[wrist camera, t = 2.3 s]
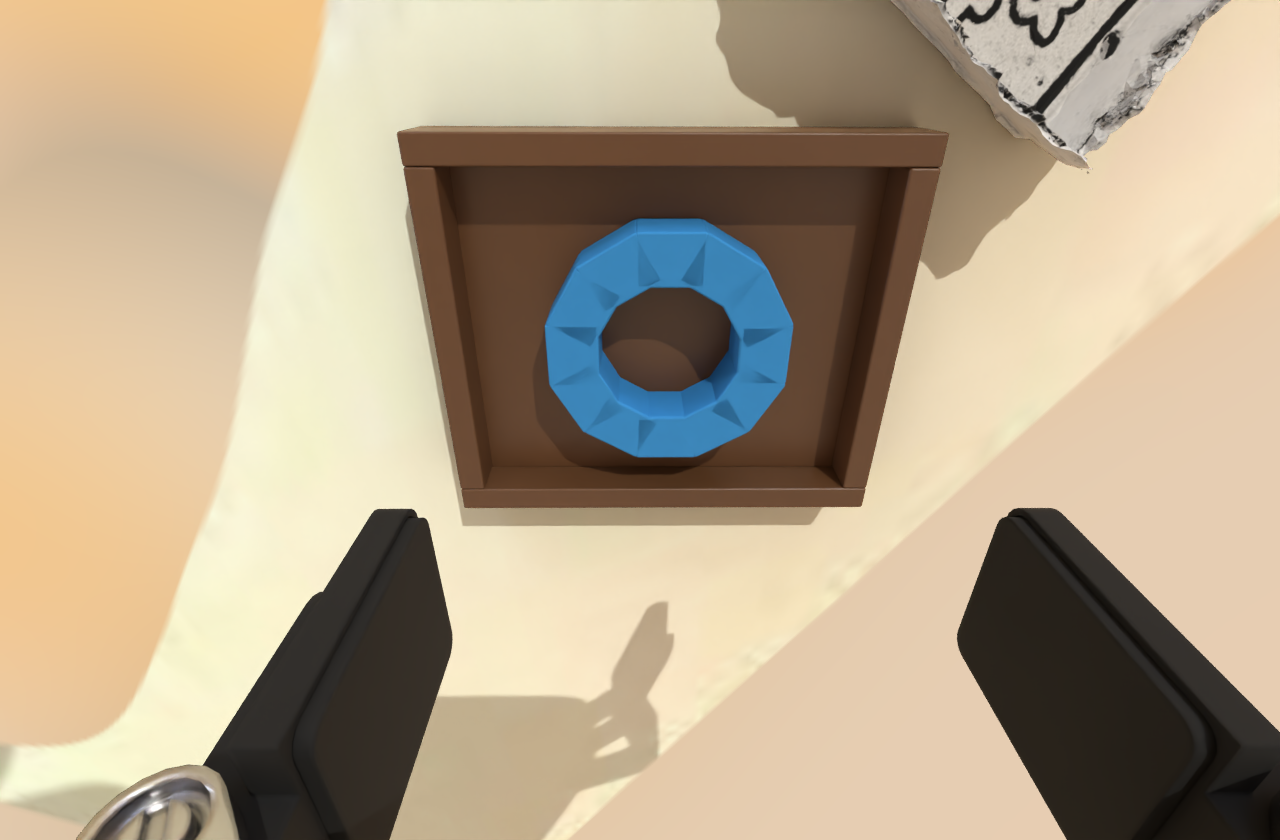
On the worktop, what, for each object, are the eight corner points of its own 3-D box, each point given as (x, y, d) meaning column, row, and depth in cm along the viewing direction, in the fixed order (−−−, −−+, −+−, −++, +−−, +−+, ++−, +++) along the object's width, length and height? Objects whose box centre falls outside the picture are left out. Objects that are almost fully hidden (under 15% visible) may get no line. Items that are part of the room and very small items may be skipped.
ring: (545, 217, 17) (536, 231, 15) (791, 217, 17) (807, 232, 15) (561, 429, 20) (555, 458, 19) (765, 429, 21) (775, 458, 19)
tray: (419, 126, 16) (395, 131, 15) (918, 126, 16) (950, 132, 15) (476, 476, 22) (464, 509, 20) (845, 475, 22) (862, 507, 20)
